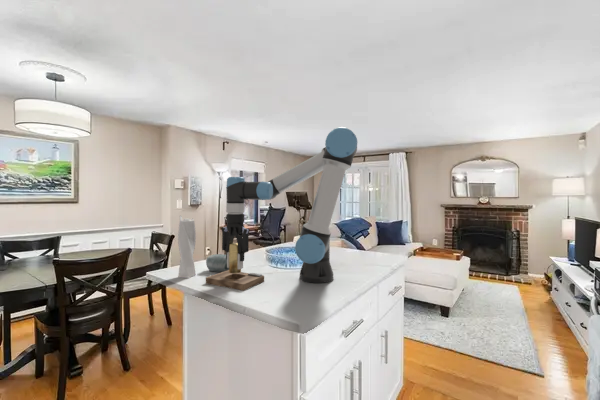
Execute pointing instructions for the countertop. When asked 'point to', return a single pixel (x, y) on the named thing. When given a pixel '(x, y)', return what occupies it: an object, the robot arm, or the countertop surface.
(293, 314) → the countertop surface
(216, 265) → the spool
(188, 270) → the skyscraper
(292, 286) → the countertop surface
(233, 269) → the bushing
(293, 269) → the countertop surface
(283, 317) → the countertop surface
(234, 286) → the jig
